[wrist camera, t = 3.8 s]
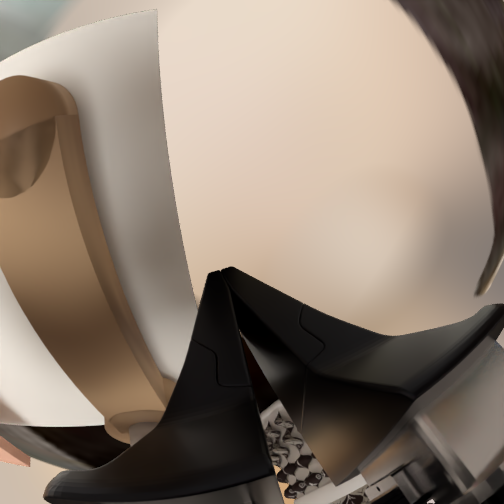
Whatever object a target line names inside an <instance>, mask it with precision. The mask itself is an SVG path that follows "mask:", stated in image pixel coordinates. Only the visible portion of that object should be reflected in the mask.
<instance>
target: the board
mask: <svg viewBox="0 0 504 504" xmlns="http://www.w3.org/2000/svg"><path fill="white" fill-rule="evenodd" d="M158 52H159V51H158V27H157V9H154V10H148V11H142V12H136V13H132V14H126V15H122V16H117V17H113V18H109V19H105V20H101V21H98V22H94V23H91V24H88V25H84V26H81V27H78V28H75V29H72V30H69V31H66V32H64V33H61V34H59V35H56V36H53V37H51V38H48V39H46V40H44V41H41V42H39V43H37V44H35V45H32V46H30V47H28V48H26V49H24V50H22V51H20V52H18V53H16V54H14V55H12V56H10V57H9V58H7V59H5V60H3V61H1V62H0V80H2V79H5V78H7V77H10V76H15V75H25V76H30V77H34V78H39V79H43V80H47V81H51V82H55V83H58V84H60V85H62V86H63V87H65V88H66V89H67V90H68V91H69V92H70V93H71V95H72V96H73V98H74V100H75V102H76V105H77V109H78V114H79V122H80V129H81V136H82V142H83V148H84V154H85V159H86V164H87V169H88V174H89V179H90V183H91V188H92V192H93V196H94V200H95V204H96V208H97V212H98V216H99V219H100V223H101V226H102V230H103V233H104V236H105V240H106V243H107V246H108V249H109V252H110V255H111V258H112V261H113V264H114V267H115V270H116V273H117V276H118V278H119V281H120V284H121V286H122V289H123V292H124V294H125V297H126V299H127V302H128V304H129V307H130V309H131V312H132V314H133V316H134V319H135V321H136V323H137V326H138V328H139V330H140V332H141V335H142V337H143V339H144V341H145V343H146V345H147V348H148V350H149V352H150V354H151V356H152V358H153V360H154V362H155V364H156V366H157V368H158V370H159V372H160V374H161V376H162V377H164V378H167V379H170V380H172V381H174V382H175V383H177V380H178V378H179V375H180V372H181V370H182V367H183V364H184V361H185V358H186V355H187V351H188V347H189V343H190V341H191V336H192V332H193V328H194V324H195V320H196V316H197V313H198V310H197V306H196V301H195V297H194V293H193V288H192V284H191V280H190V275H189V271H188V266H187V261H186V256H185V251H184V246H183V241H182V235H181V230H180V225H179V219H178V214H177V208H176V202H175V197H174V190H173V183H172V177H171V170H170V163H169V156H168V148H167V141H166V132H165V124H164V115H163V105H162V94H161V82H160V69H159V53H158ZM0 423H2V424H11V425H24V426H48V427H68V426H93V425H105V421H104V416H103V415H102V414H101V413H100V412H99V411H98V410H97V409H96V408H95V407H94V406H93V405H92V404H91V403H90V402H89V401H88V399H87V398H86V397H85V396H84V395H83V394H82V393H81V392H80V390H79V389H78V388H77V387H76V386H75V385H74V383H73V382H72V381H71V380H70V379H69V377H68V376H67V375H66V374H65V372H64V371H63V370H62V368H61V367H60V366H59V365H58V363H57V362H56V361H55V359H54V358H53V356H52V355H51V354H50V352H49V351H48V350H47V348H46V347H45V345H44V344H43V342H42V341H41V339H40V338H39V336H38V335H37V333H36V332H35V330H34V329H33V327H32V325H31V324H30V322H29V321H28V319H27V317H26V316H25V314H24V312H23V310H22V309H21V307H20V305H19V303H18V302H17V300H16V298H15V296H14V294H13V292H12V290H11V288H10V286H9V284H8V282H7V280H6V278H5V276H4V274H3V272H2V270H1V268H0Z"/></svg>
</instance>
